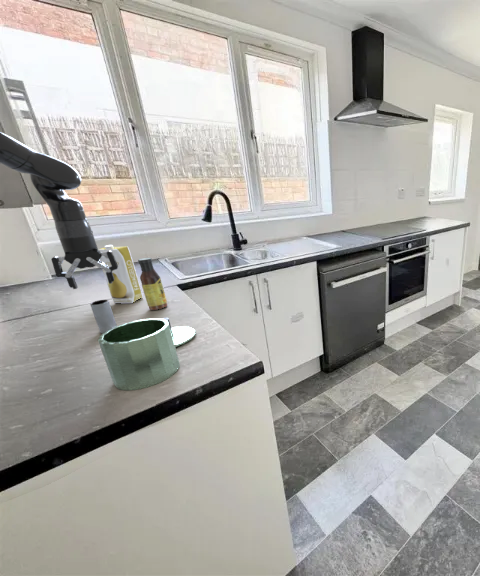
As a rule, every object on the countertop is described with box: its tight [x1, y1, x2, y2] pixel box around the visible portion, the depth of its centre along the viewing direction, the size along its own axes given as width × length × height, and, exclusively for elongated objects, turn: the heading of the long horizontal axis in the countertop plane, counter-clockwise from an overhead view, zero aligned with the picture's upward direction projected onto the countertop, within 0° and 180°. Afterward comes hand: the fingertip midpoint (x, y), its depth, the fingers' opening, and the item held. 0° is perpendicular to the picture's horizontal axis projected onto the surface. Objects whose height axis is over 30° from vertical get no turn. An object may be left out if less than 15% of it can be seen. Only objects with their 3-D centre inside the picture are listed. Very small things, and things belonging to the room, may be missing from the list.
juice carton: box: [98, 244, 144, 304], centre depth 126 cm, size 9×8×24 cm
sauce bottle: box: [137, 257, 168, 311], centre depth 119 cm, size 7×6×20 cm
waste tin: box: [97, 317, 181, 391], centre depth 78 cm, size 14×14×12 cm
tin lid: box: [161, 317, 196, 348], centre depth 95 cm, size 15×15×7 cm
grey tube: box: [89, 299, 118, 334], centre depth 102 cm, size 4×4×10 cm
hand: (93, 285), depth 98 cm, fingers open, 8 cm apart
